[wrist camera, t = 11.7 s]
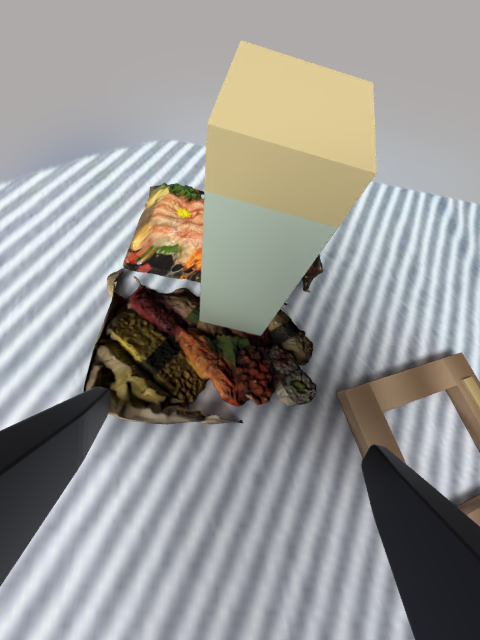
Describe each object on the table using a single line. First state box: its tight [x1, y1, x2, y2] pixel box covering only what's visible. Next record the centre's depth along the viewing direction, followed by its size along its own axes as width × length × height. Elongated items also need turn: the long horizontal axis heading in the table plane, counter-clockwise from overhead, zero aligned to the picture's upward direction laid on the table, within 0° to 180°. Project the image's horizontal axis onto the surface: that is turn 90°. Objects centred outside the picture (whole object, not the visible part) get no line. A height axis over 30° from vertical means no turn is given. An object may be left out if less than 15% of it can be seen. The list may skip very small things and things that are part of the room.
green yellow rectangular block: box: [199, 41, 377, 336], centre depth 13 cm, size 4×4×13 cm
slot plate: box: [337, 353, 480, 526], centre depth 19 cm, size 12×12×1 cm
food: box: [84, 183, 323, 424], centre depth 21 cm, size 22×19×4 cm
